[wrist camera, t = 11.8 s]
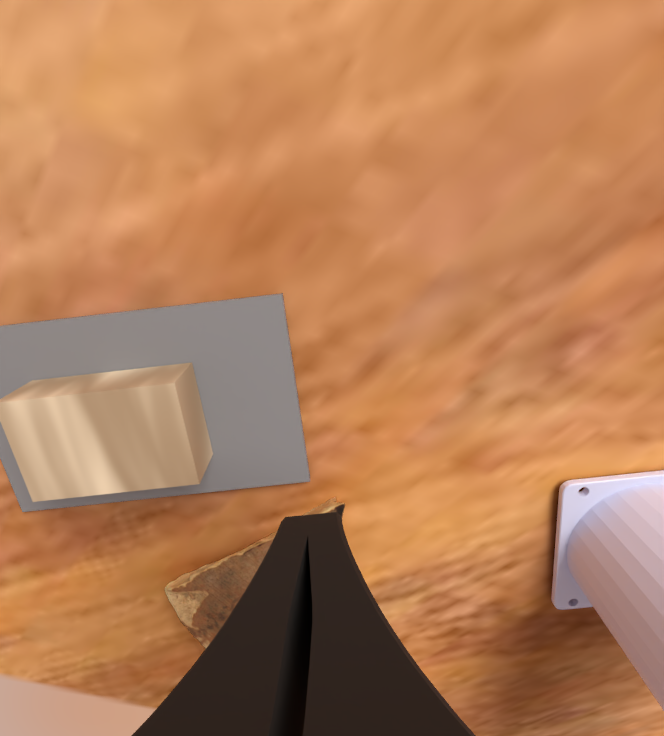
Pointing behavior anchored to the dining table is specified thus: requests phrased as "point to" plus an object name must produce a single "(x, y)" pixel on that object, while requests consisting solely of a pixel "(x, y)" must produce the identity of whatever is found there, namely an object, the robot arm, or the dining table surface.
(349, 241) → the dining table surface
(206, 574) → the shard
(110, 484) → the beech block
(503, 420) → the dining table surface
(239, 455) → the felt mat
